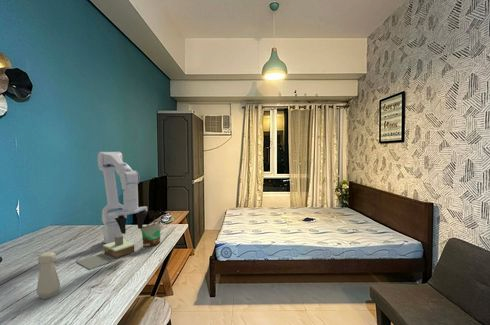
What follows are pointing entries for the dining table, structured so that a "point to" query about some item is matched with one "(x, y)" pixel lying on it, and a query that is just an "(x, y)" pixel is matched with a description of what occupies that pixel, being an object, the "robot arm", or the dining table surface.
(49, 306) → the dining table surface
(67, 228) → the dining table surface
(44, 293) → the salt shaker
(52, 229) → the dining table surface
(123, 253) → the box
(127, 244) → the lid
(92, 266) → the mat
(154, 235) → the food container
